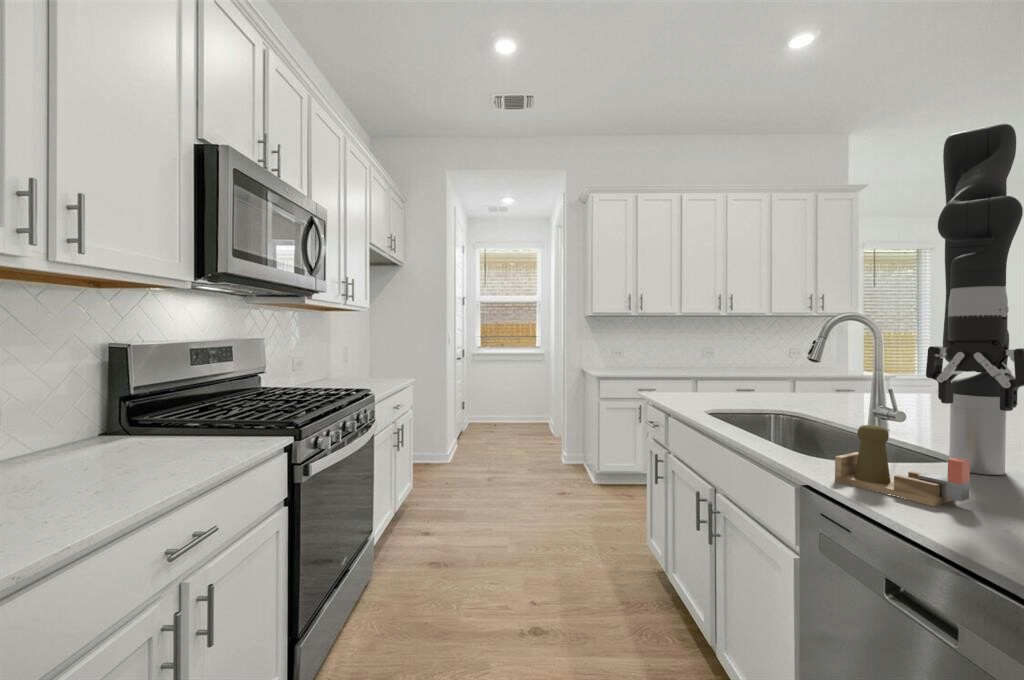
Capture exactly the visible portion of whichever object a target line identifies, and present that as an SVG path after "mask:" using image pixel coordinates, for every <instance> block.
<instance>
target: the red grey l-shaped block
mask: <svg viewBox="0 0 1024 680" xmlns="http://www.w3.org/2000/svg"><path fill="white" fill-rule="evenodd" d="M970 476H971V472H970V460H967V459H962V458H952V459H949V458H948V459H947V476H943V475H937V474H934V473H933V474H932V473H928V472H924V473H923V474H919V475H918V479H919V480H924V481H928V482H932V483H937V484H940V493H939V496H941V497H945V498H949V499H953V500H952V501H954V500H955V501H959V502H964V501H967V500H970V487H971V486H970V484H971V483H970V481H971V479H970Z"/></svg>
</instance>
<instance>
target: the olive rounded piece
mask: <svg viewBox="0 0 1024 680" xmlns="http://www.w3.org/2000/svg"><path fill="white" fill-rule="evenodd" d="M889 435H890V434H889V431H888V429H886V428H885V427H883V426H879V425H875V424H865V425H864V424H863V425H861V426H859V427H858V429H857V438H858V439H859V441H860V442H859V449H858V452H859V453H858V459H857V465H856V470H855V476H854V477H855V478H856V479H858V480H862V481H865V482H870V483H878V484H887V483H890V482H891V481H890V478H891V476H890V475H891V474H890V468H889V461H888V455H887V454H888V453H887V447H886V446H887V445H886V443H887V442H888V441H889V438H890V437H889Z"/></svg>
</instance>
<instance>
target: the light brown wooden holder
mask: <svg viewBox="0 0 1024 680" xmlns="http://www.w3.org/2000/svg"><path fill="white" fill-rule="evenodd" d="M858 453H859V451H855V452H851V453H850V452H849V453H847V454H846V453H845V454H841V455H835V456H834V458H835V460H834V481H835V482H837V483H841V484H845V485H849V486H852V485H854V487H856V486H858V487H857V488H860V487H861V489H864V488H866V489H865V490H868V489H870V490H869V491H871V490H874V491H873V492H875V491H878V492H877V493H879V492H883V493H887V494H891V495H895V496H899V497H903V498H906V499H909V500H908V501H910V500H912V501H911V502H913V501H916V502H915V503H917V502H919V503H918V504H921V503H922V505H925V504H926V506H929V507H937V506H940V505H943V504H945V503H949V502H952V501H954V500H953V499H949V498H945V497H941V496H939V493H940V484H937V483H932V482H928V481H924V480H919V479H918V475H919V474H923V473H922V472H919V471H915V470H914V471H913V470H911V471H908V474H907V476H905V475H901V474H896V475H893V478H891V477H890V481H891V482H890V483H887V484H878V483H870V482H865V481H862V480H858V479H856V478H855V477H854V476H855V470H856V465H857V459H858ZM883 493H882V494H883ZM887 494H886V495H887ZM891 495H890V496H891ZM906 499H905V500H906Z"/></svg>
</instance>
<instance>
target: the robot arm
mask: <svg viewBox="0 0 1024 680" xmlns="http://www.w3.org/2000/svg"><path fill="white" fill-rule="evenodd" d="M942 152H943V155H942V157H943V161H942V163H943V178H944V179H943V180H944V189H945V190H944V191H945V193H944V194H945V206H944V207H942V211H941V212H940V215H939V217H938V221H937V231H938V233H939V235H940V237H941V238H943V239H944V272H945V273H944V274H945V275H944V276H945V305H944V306H945V307H944V319H943V321H944V322H943V333H942V346H935V345H934V346H928V349H927V357H926V368H925V369H926V370H925V377H926V378H927V379H932V380H935V381H936V382H937V383H938V384H937V386H938V387H937V388H938V391H937V392H938V393H937V397H938V400H940V402H941V404H945V405H948V404H949V451H948V456H949V458H948V459H952V458H962V459H967V460H970V474H971V473H972V474H978V475H979V474H980V475H988V476H990V475H991V476H1001V475H1005V474H1006V450H1007V449H1006V445H1007V442H1006V441H1007V439H1006V437H1007V412H1011V411H1013V410H1014V408H1017V406H1018V390H1019V388H1022V387H1024V348H1021V347H1020V348H1015V349H1014V348H1013V349H1010V348H1009V346H1010V334H1009V330H1008V329H1009V328H1008V316H1009V315H1008V313H1009V305H1008V303H1009V301H1008V300H1009V299H1008V294H1007V265H1008V264H1007V263H1008V258H1009V252H1010V248H1011V246H1012V243H1013V241H1014V238H1015V236H1016V233H1017V231H1018V228H1019V226H1020V224H1021V221H1022V218H1023V214H1024V213H1023V212H1024V210H1023V209H1024V208H1023V205H1022V203H1021V202H1020V201H1019V199H1017V198H1016V197H1014V196H1010V195H1007V193H1008V192H1007V190H1008V189H1007V188H1008V187H1007V180H1008V178H1009V175H1010V172H1011V169H1012V167H1013V164H1014V161H1015V158H1016V152H1017V134H1016V131H1015V129H1014V127H1013V126H1012V124H1011V125H1010V124H1008V123H1000V124H998V123H997V124H993V125H989V126H982V127H977V128H973V129H969V130H964V131H959V132H955V133H951V134H950V135H949V136H947V138H946V139H945V141H944V144H943V151H942ZM1008 358H1010V361H1012V362H1013V363H1014V364H1013V365H1014V375H1013V374H1012V371H1011V370H1010V368H1009V367H1008ZM944 360H946V362H947V363H948V364H947V365H946V366H945V367H944V368H943V365H944V364H943V363H944ZM964 372H965V373H966V372H967V373H968V372H969V373H970V372H976V373H977V374H975V375H972V376H967V377H963V378H962V377H961V378H958V379H956V378H957V377H958V376H959V375H961V374H962V373H964Z"/></svg>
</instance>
